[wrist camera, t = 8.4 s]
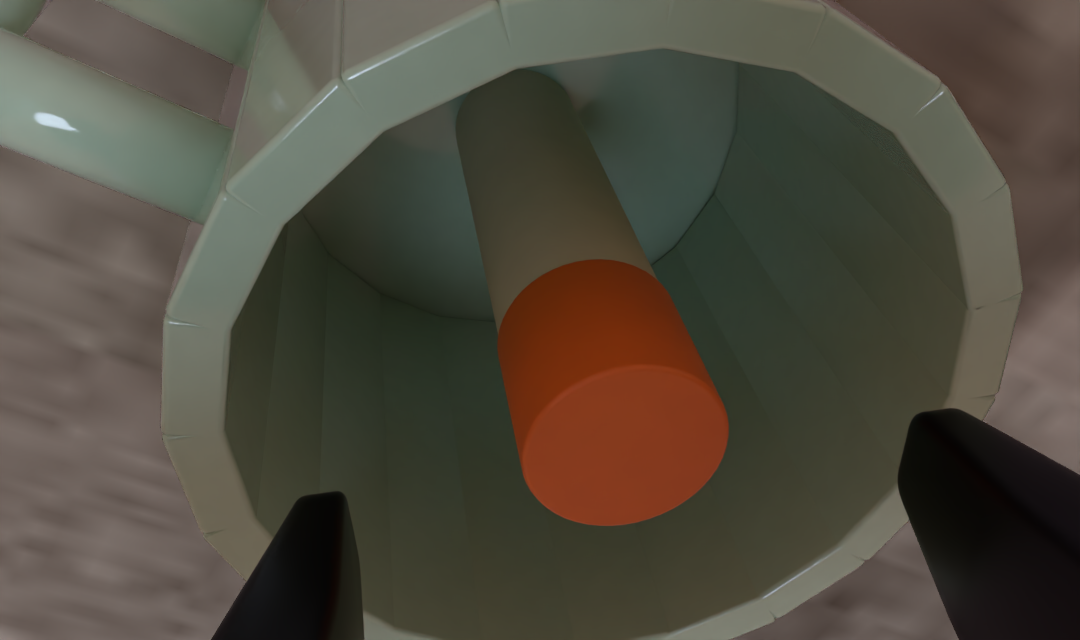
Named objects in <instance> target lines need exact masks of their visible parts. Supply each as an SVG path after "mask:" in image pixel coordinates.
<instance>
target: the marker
mask: <svg viewBox="0 0 1080 640" xmlns="http://www.w3.org/2000/svg"><path fill="white" fill-rule="evenodd" d="M456 140H457V145H458V150H459V154H460V159H461V164H462V168H463V173H464V178H465V182H466V187H467V192H468V196H469V201H470V206H471V210H472V215H473V220H474V224H475V229H476V234H477V238H478V243H479V248H480V252H481V257H482V262H483V266H484V271H485V276H486V280H487V285H488V290H489V294H490V299H491V304H492V308H493V313H494V318H495V322H496V327H497V332H498V342H497V350H498V357H499V362H500V367H501V372H502V377H503V382H504V386H505V391H506V396H507V401H508V406H509V410H510V415H511V420H512V425H513V430H514V434H515V439H516V444H517V449H518V454H519V459H520V463H521V468H522V473H523V476H524V479H525V482H526V484H527V485H528V487H529V489H530V491H531V492H532V493H533V495H534V496H535V497H536V498H537V500H538V501H540V502H541V503H542V504H543V505H544V506H545V507H546V508H548V509H549V510H551V511H552V512H553V513H555V514H557V515H559V516H561V517H563V518H565V519H568V520H571V521H574V522H578V523H582V524H587V525H596V526H616V525H626V524H631V523H636V522H640V521H644V520H647V519H651V518H653V517H656V516H659V515H661V514H663V513H665V512H667V511H670V510H672V509H674V508H675V507H677V506H679V505H680V504H682V503H683V502H685V501H686V500H688V499H689V498H690V497H692V496H693V495H694V494H695V493H696V492H698V491H699V490H700V489H701V488H702V487H703V486H704V485H705V484H706V483H707V481H708V480H709V479H710V478H711V477H712V475H713V474H714V472H715V471H716V470H717V468H718V466H719V464H720V462H721V461H722V459H723V456H724V453H725V450H726V447H727V442H728V435H729V423H728V416H727V412H726V409H725V406H724V404H723V402H722V400H721V398H720V396H719V394H718V392H717V390H716V388H715V386H714V384H713V382H712V380H711V378H710V376H709V374H708V372H707V370H706V368H705V366H704V363H703V361H702V359H701V357H700V355H699V353H698V351H697V349H696V347H695V345H694V343H693V341H692V339H691V337H690V335H689V333H688V331H687V329H686V327H685V325H684V323H683V321H682V319H681V317H680V315H679V313H678V311H677V309H676V307H675V305H674V303H673V300H672V299H671V297H670V295H669V293H668V291H667V290H666V289H665V288H664V286H663V285H662V284H661V283H660V282H659V281H658V280H657V278H656V276H655V274H654V271H653V269H652V267H651V265H650V263H649V261H648V259H647V257H646V255H645V253H644V251H643V249H642V247H641V245H640V243H639V241H638V238H637V236H636V234H635V232H634V230H633V228H632V226H631V224H630V222H629V220H628V218H627V216H626V214H625V212H624V210H623V208H622V205H621V203H620V201H619V199H618V197H617V195H616V193H615V191H614V189H613V187H612V185H611V183H610V181H609V179H608V177H607V174H606V172H605V170H604V168H603V166H602V164H601V162H600V160H599V158H598V156H597V154H596V152H595V150H594V148H593V146H592V144H591V141H590V139H589V137H588V135H587V133H586V131H585V129H584V127H583V125H582V123H581V121H580V119H579V117H578V115H577V113H576V111H575V108H574V106H573V104H572V102H571V100H570V99H569V97H568V95H567V94H566V92H565V91H564V90H563V89H562V87H561V86H560V85H559V84H557V83H556V82H555V81H553V80H552V79H550V78H549V77H547V76H545V75H543V74H540V73H537V72H533V71H529V70H513V71H511V72H509V73H507V74H505V75H503V76H501V77H499V78H496V79H494V80H492V81H490V82H488V83H486V84H484V85H482V86H480V87H477V88H475V89H473V90H471V91H470V93H469V94H468V95H467V96H466V98H465V100H464V101H463V103H462V105H461V107H460V109H459V112H458V115H457V119H456Z"/></svg>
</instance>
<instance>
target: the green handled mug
mask: <svg viewBox="0 0 1080 640" xmlns="http://www.w3.org/2000/svg"><path fill="white" fill-rule="evenodd" d="M52 1H53V0H0V146H1V147H4V148H6V149H9V150H12V151H14V152H17V153H19V154H22V155H24V156H27V157H29V158H32V159H34V160H37V161H40V162H42V163H45V164H47V165H50V166H52V167H55V168H57V169H60V170H62V171H65V172H68V173H70V174H73V175H75V176H78V177H80V178H83V179H85V180H88V181H90V182H93V183H96V184H98V185H101V186H103V187H106V188H108V189H111V190H113V191H116V192H118V193H121V194H124V195H126V196H129V197H131V198H134V199H136V200H139V201H141V202H144V203H147V204H149V205H152V206H154V207H157V208H159V209H162V210H164V211H167V212H169V213H172V214H175V215H177V216H180V217H182V218H185V219H187V220H190V223H189V227H188V230H187V234H186V237H185V241H184V244H183V248H182V252H181V255H180V259H179V262H178V266H177V269H176V273H175V276H174V280H173V284H172V287H171V291H170V294H169V298H168V301H167V305H166V311H165V314H164V318H163V329H162V370H161V411H160V428H161V431H162V433H163V436H162V440H163V442H164V445H165V447H166V450H167V452H168V454H169V457H170V459H171V462H172V464H173V466H174V469H175V471H176V474H177V476H178V478H179V481H180V483H181V486H182V488H183V490H184V493H185V495H186V498H187V500H188V502H189V505H190V507H191V510H192V512H193V514H194V517H195V519H196V522H197V524H198V526H199V529H200V531H201V532H202V533H203V536H204V539H205V540H206V541H207V542H208V543H209V544H210V545H211V546H212V547H213V548H214V549H215V550H216V551H217V552H218V553H219V554H220V555H221V556H222V557H223V558H224V559H225V560H226V561H227V562H228V563H229V564H230V565H231V566H232V567H233V568H234V569H235V570H236V571H237V572H238V574H239V575H240V576H241V577H242V578H243V579H244V580H245V581H246V582H247V580H248V579H249V577H250V575H251V574H252V572H253V570H254V569H255V567H256V565H257V564H258V562H259V561H260V559H261V557H262V556H263V554H264V552H265V551H266V549H267V547H268V546H269V544H270V543H271V541H272V539H273V538H274V536H275V534H276V533H277V531H278V530H279V528H280V526H281V525H282V523H283V521H284V520H285V518H286V516H287V515H288V513H289V512H290V510H291V508H292V507H293V505H294V503H295V502H296V501H297V500H298V499H299V498H300V497H302V496H304V495H310V494H317V493H325V492H332V491H340V492H342V493H344V495H345V496H346V498H347V501H348V506H349V511H350V515H351V520H352V525H353V530H354V535H355V540H356V544H357V549H358V555H359V561H360V571H361V586H362V604H363V621H364V639H365V640H731V639H733V638H736V637H738V636H741V635H743V634H746V633H748V632H751V631H753V630H756V629H758V628H761V627H763V626H766V625H768V624H771V623H773V622H775V618H781V617H783V616H784V615H786V614H787V613H789V612H790V611H792V610H794V609H795V608H797V607H798V606H800V605H801V604H803V603H804V602H806V601H808V600H809V599H811V598H812V597H814V596H815V595H817V594H819V593H820V592H822V591H823V590H825V589H826V588H828V587H829V586H831V585H833V584H834V583H836V582H837V581H839V580H840V579H842V578H843V577H845V576H847V575H848V574H850V573H851V572H853V571H854V570H856V569H857V568H859V567H861V566H862V565H863V564H864V560H869V559H871V558H872V557H873V556H874V555H875V554H876V553H877V552H878V551H879V550H880V549H881V548H882V547H883V546H884V545H885V544H886V543H887V542H888V541H889V540H890V539H891V538H892V537H893V536H894V535H895V534H896V533H897V532H898V531H899V530H900V529H901V528H902V527H903V526H904V525H905V524H906V523H907V522H908V521H909V518H908V515H907V513H906V510H905V508H904V505H903V503H902V500H901V497H900V494H899V490H898V483H897V478H898V470H899V466H900V461H901V457H902V453H903V449H904V445H905V441H906V437H907V432H908V428H909V425H910V422H911V420H912V418H913V417H914V416H915V415H916V414H918V413H920V412H924V411H931V410H939V409H946V408H957V409H960V410H963V411H965V412H967V413H969V414H970V415H972V416H974V417H976V418H978V419H979V420H981V421H983V419H984V418H985V416H986V414H987V413H988V411H989V409H990V408H991V406H992V404H993V403H994V401H995V394H997V393H998V391H999V388H1000V384H1001V380H1002V376H1003V372H1004V368H1005V364H1006V360H1007V355H1008V351H1009V347H1010V343H1011V339H1012V335H1013V331H1014V327H1015V323H1016V318H1017V314H1018V310H1019V306H1020V302H1021V294H1020V293H1021V292H1023V284H1022V277H1021V269H1020V262H1019V254H1018V247H1017V239H1016V232H1015V225H1014V217H1013V210H1012V202H1011V195H1010V188H1009V186H1008V185H1007V184H1006V182H1005V177H1004V175H1003V174H1002V172H1001V171H1000V169H999V167H998V166H997V164H996V163H995V161H994V159H993V158H992V156H991V155H990V153H989V151H988V150H987V148H986V147H985V145H984V143H983V142H982V140H981V139H980V137H979V136H978V134H977V132H976V131H975V129H974V128H973V126H972V124H971V123H970V121H969V120H968V118H967V116H966V115H965V113H964V112H963V110H962V109H961V107H960V105H959V104H958V102H957V101H956V99H955V97H954V96H953V94H952V93H951V91H950V89H949V88H948V86H946V85H945V84H944V83H942V82H941V81H940V79H939V77H938V76H936V75H935V74H934V73H932V72H931V71H930V70H928V69H927V68H925V67H924V66H923V65H921V64H920V63H919V62H917V61H916V60H915V59H913V58H912V57H910V56H909V55H908V54H906V53H905V52H904V51H902V50H901V49H899V48H898V47H897V46H895V45H894V44H893V43H891V42H890V41H889V40H887V39H886V38H884V37H883V36H882V35H880V34H879V33H878V32H876V31H875V30H874V29H872V28H871V27H869V26H868V25H867V24H865V23H864V22H863V21H861V20H860V19H858V18H857V17H856V16H854V15H853V14H852V13H850V12H849V11H848V10H846V9H845V8H843V7H842V6H841V5H839V4H838V3H837V2H835V1H834V0H95V1H97V2H99V3H102V4H104V5H106V6H108V7H110V8H112V9H114V10H117V11H119V12H121V13H123V14H125V15H127V16H129V17H132V18H134V19H136V20H138V21H140V22H142V23H144V24H147V25H149V26H151V27H153V28H155V29H157V30H159V31H162V32H164V33H166V34H168V35H170V36H172V37H175V38H177V39H179V40H181V41H183V42H185V43H187V44H190V45H192V46H194V47H196V48H198V49H200V50H202V51H205V52H207V53H209V54H211V55H213V56H215V57H217V58H220V59H222V60H224V61H226V62H228V63H230V64H232V65H234V66H233V70H232V74H231V77H230V81H229V84H228V88H227V91H226V95H225V98H224V102H223V106H222V109H221V113H220V116H219V120H218V122H217V121H215V120H213V119H210V118H208V117H206V116H203V115H201V114H199V113H197V112H194V111H192V110H190V109H187V108H185V107H183V106H181V105H178V104H176V103H174V102H172V101H169V100H167V99H165V98H162V97H160V96H158V95H156V94H153V93H151V92H149V91H146V90H144V89H142V88H140V87H137V86H135V85H133V84H131V83H128V82H126V81H124V80H121V79H119V78H117V77H115V76H112V75H110V74H108V73H105V72H103V71H101V70H99V69H96V68H94V67H92V66H90V65H87V64H85V63H83V62H80V61H78V60H76V59H74V58H71V57H69V56H67V55H65V54H62V53H60V52H58V51H55V50H53V49H51V48H49V47H46V46H44V45H42V44H39V43H37V42H35V41H33V40H30V39H28V38H26V37H24V36H23V35H24V34H25V32H26V31H27V30H28V29H29V28H30V27H31V25H32V24H33V23H34V22H35V21H36V19H37V18H38V17H39V16H40V15H41V14H42V12H43V11H44V10H45V9H46V8H47V6H48V5H49V4H50V3H51V2H52ZM513 70H529V71H533V72H537V73H540V74H543V75H545V76H547V77H549V78H550V79H552V80H553V81H555V82H556V83H557V84H559V85H560V86H561V87H562V89H563V90H564V91H565V92H566V94H567V95H568V97H569V99H570V100H571V102H572V104H573V106H574V108H575V111H576V113H577V115H578V117H579V119H580V121H581V123H582V125H583V127H584V129H585V131H586V133H587V135H588V137H589V139H590V141H591V144H592V146H593V148H594V150H595V152H596V154H597V156H598V158H599V160H600V162H601V164H602V166H603V168H604V170H605V172H606V174H607V177H608V179H609V181H610V183H611V185H612V187H613V189H614V191H615V193H616V195H617V197H618V199H619V201H620V203H621V205H622V208H623V210H624V212H625V214H626V216H627V218H628V220H629V222H630V224H631V226H632V228H633V230H634V232H635V234H636V236H637V238H638V241H639V243H640V245H641V247H642V249H643V251H644V253H645V255H646V257H647V259H648V261H649V263H650V265H651V267H652V269H653V271H654V274H655V276H656V278H657V280H658V281H659V282H660V283H661V284H662V285H663V286H664V288H665V289H666V290H667V291H668V293H669V295H670V297H671V299H672V300H673V303H674V305H675V307H676V309H677V311H678V313H679V315H680V317H681V319H682V321H683V323H684V325H685V327H686V329H687V331H688V333H689V335H690V337H691V339H692V341H693V343H694V345H695V347H696V349H697V351H698V353H699V355H700V357H701V359H702V361H703V363H704V366H705V368H706V370H707V372H708V374H709V376H710V378H711V380H712V382H713V384H714V386H715V388H716V390H717V392H718V394H719V396H720V398H721V400H722V402H723V404H724V406H725V409H726V412H727V416H728V423H729V435H728V442H727V447H726V450H725V453H724V456H723V459H722V461H721V462H720V464H719V466H718V468H717V470H716V471H715V472H714V474H713V475H712V477H711V478H710V479H709V480H708V481H707V483H706V484H705V485H704V486H703V487H702V488H701V489H700V490H699V491H698V492H696V493H695V494H694V495H693V496H692V497H690V498H689V499H688V500H686V501H685V502H683V503H682V504H680V505H679V506H677V507H675V508H674V509H672V510H670V511H667V512H665V513H663V514H661V515H659V516H656V517H653V518H651V519H647V520H644V521H640V522H636V523H631V524H626V525H616V526H596V525H587V524H582V523H578V522H574V521H571V520H568V519H565V518H563V517H561V516H559V515H557V514H555V513H553V512H552V511H551V510H549V509H548V508H546V507H545V506H544V505H543V504H542V503H541V502H540V501H538V500H537V498H536V497H535V496H534V495H533V493H532V492H531V491H530V489H529V487H528V485H527V484H526V482H525V479H524V476H523V473H522V468H521V463H520V459H519V454H518V449H517V444H516V439H515V434H514V430H513V425H512V420H511V415H510V410H509V406H508V401H507V396H506V391H505V386H504V382H503V377H502V372H501V367H500V362H499V357H498V350H497V342H498V332H497V327H496V322H495V318H494V313H493V308H492V304H491V299H490V294H489V290H488V285H487V280H486V276H485V271H484V266H483V262H482V257H481V252H480V248H479V243H478V238H477V234H476V229H475V224H474V220H473V215H472V210H471V206H470V201H469V196H468V192H467V187H466V182H465V178H464V173H463V168H462V164H461V159H460V154H459V150H458V145H457V140H456V119H457V115H458V112H459V109H460V107H461V105H462V103H463V101H464V100H465V98H466V96H467V95H468V94H469V93H470V91H471V90H473V89H475V88H477V87H480V86H482V85H484V84H486V83H488V82H490V81H492V80H494V79H496V78H499V77H501V76H503V75H505V74H507V73H509V72H511V71H513Z"/></svg>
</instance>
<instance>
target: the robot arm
mask: <svg viewBox="0 0 1080 640" xmlns="http://www.w3.org/2000/svg"><path fill="white" fill-rule="evenodd" d="M897 483H898V490H899V494H900V497H901V500H902V503H903V505H904V508H905V510H906V513H907V515H908V518H909V520H910V523H911V525H912V528H913V530H914V532H915V535H916V537H917V540H918V542H919V545H920V547H921V550H922V552H923V555H924V557H925V560H926V562H927V565H928V567H929V569H930V572H931V574H932V577H933V579H934V582H935V584H936V587H937V589H938V592H939V594H940V597H941V599H942V602H943V604H944V606H945V609H946V611H947V614H948V616H949V618H950V621H951V623H952V625H953V627H954V630H955V632H956V634H957V636H958V638H959V640H1080V475H1079V474H1077V473H1075V472H1074V471H1072V470H1070V469H1068V468H1066V467H1064V466H1063V465H1061V464H1059V463H1057V462H1055V461H1054V460H1052V459H1050V458H1048V457H1046V456H1045V455H1043V454H1041V453H1039V452H1037V451H1036V450H1034V449H1032V448H1030V447H1028V446H1026V445H1025V444H1023V443H1021V442H1019V441H1017V440H1016V439H1014V438H1012V437H1010V436H1008V435H1007V434H1005V433H1003V432H1001V431H999V430H998V429H996V428H994V427H992V426H990V425H988V424H987V423H985V422H983V421H981V420H979V419H978V418H976V417H974V416H972V415H970V414H969V413H967V412H965V411H963V410H960V409H957V408H946V409H939V410H931V411H924V412H920V413H918V414H916V415H915V416H914V417H913V418H912V420H911V422H910V425H909V428H908V432H907V437H906V441H905V445H904V449H903V453H902V457H901V461H900V466H899V470H898V478H897ZM211 640H365V639H364V621H363V604H362V586H361V571H360V561H359V555H358V549H357V544H356V540H355V535H354V530H353V525H352V520H351V515H350V511H349V506H348V501H347V498H346V496H345V495H344V493H342V492H340V491H332V492H325V493H317V494H310V495H304V496H302V497H300V498H299V499H298V500H297V501H296V502H295V503H294V505H293V507H292V508H291V510H290V512H289V513H288V515H287V516H286V518H285V520H284V521H283V523H282V525H281V526H280V528H279V530H278V531H277V533H276V534H275V536H274V538H273V539H272V541H271V543H270V544H269V546H268V547H267V549H266V551H265V552H264V554H263V556H262V557H261V559H260V561H259V562H258V564H257V565H256V567H255V569H254V570H253V572H252V574H251V575H250V577H249V579H248V580H247V582H246V583H245V585H244V587H243V588H242V590H241V592H240V593H239V595H238V596H237V598H236V600H235V601H234V603H233V605H232V606H231V608H230V610H229V611H228V613H227V614H226V616H225V618H224V619H223V621H222V623H221V624H220V626H219V628H218V629H217V631H216V632H215V634H214V636H213V637H212V639H211Z"/></svg>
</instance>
